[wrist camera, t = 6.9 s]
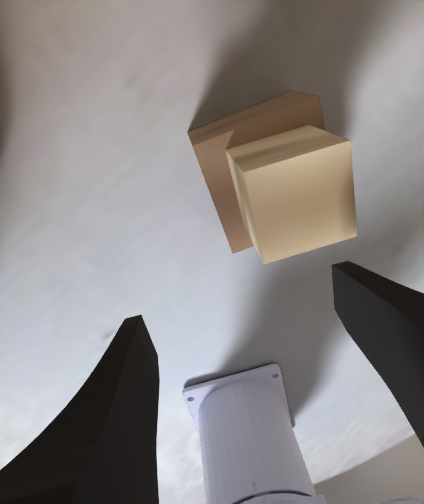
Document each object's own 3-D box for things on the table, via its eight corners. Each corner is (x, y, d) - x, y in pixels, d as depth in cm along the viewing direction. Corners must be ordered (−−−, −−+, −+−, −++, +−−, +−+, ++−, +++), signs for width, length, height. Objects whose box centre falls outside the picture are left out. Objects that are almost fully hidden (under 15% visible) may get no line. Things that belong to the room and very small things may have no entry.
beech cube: (318, 203, 18) (357, 236, 15) (243, 226, 18) (264, 264, 15) (309, 124, 16) (350, 140, 13) (225, 149, 16) (243, 172, 13)
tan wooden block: (311, 189, 22) (340, 213, 19) (221, 224, 22) (232, 253, 19) (289, 90, 19) (318, 96, 16) (186, 131, 20) (192, 145, 16)
